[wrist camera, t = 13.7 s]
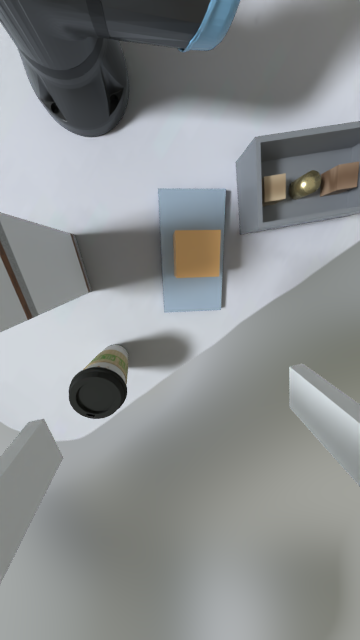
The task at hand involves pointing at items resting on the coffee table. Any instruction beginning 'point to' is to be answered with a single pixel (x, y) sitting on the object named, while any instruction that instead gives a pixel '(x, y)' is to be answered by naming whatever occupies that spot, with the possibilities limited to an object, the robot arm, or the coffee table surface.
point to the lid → (192, 248)
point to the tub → (296, 176)
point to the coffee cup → (101, 384)
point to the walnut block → (339, 179)
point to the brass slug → (305, 185)
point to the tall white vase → (37, 270)
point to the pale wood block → (273, 189)
